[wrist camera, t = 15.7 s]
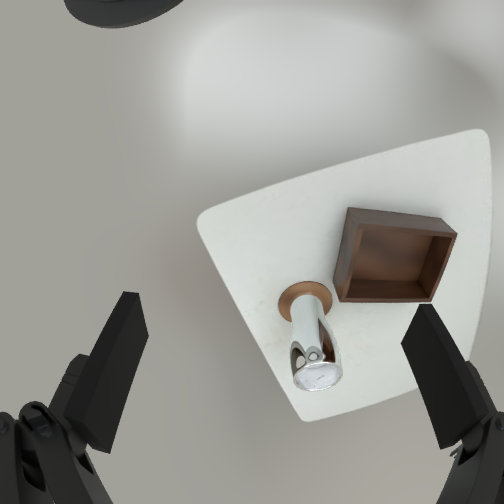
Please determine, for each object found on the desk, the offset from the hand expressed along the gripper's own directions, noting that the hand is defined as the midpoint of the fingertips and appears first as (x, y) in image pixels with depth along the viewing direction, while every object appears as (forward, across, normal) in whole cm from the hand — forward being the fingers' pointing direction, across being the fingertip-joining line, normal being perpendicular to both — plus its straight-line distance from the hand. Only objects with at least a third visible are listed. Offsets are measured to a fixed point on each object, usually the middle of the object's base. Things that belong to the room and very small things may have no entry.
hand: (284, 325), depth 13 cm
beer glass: (+28, +8, -22) cm, 37 cm away
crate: (+28, +20, -11) cm, 37 cm away
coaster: (+28, +8, -22) cm, 37 cm away
